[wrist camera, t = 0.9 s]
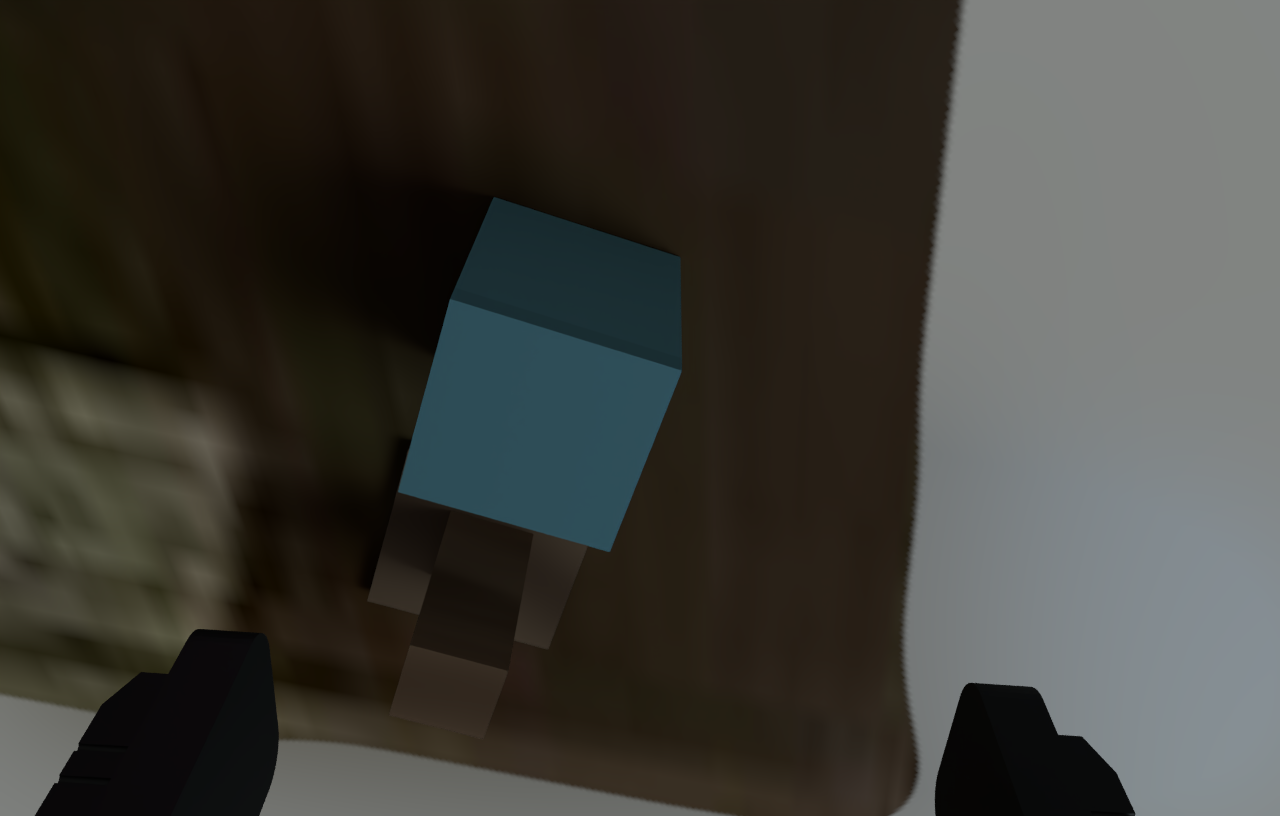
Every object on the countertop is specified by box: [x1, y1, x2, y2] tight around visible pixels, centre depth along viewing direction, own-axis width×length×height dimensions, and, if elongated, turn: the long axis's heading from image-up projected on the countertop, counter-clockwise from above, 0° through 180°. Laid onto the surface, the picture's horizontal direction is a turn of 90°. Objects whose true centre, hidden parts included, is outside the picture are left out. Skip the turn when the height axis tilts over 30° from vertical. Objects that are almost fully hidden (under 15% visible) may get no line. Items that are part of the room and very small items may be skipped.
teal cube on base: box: [398, 197, 682, 552], centre depth 28 cm, size 5×5×7 cm
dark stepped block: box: [367, 441, 588, 739], centre depth 32 cm, size 6×6×6 cm
